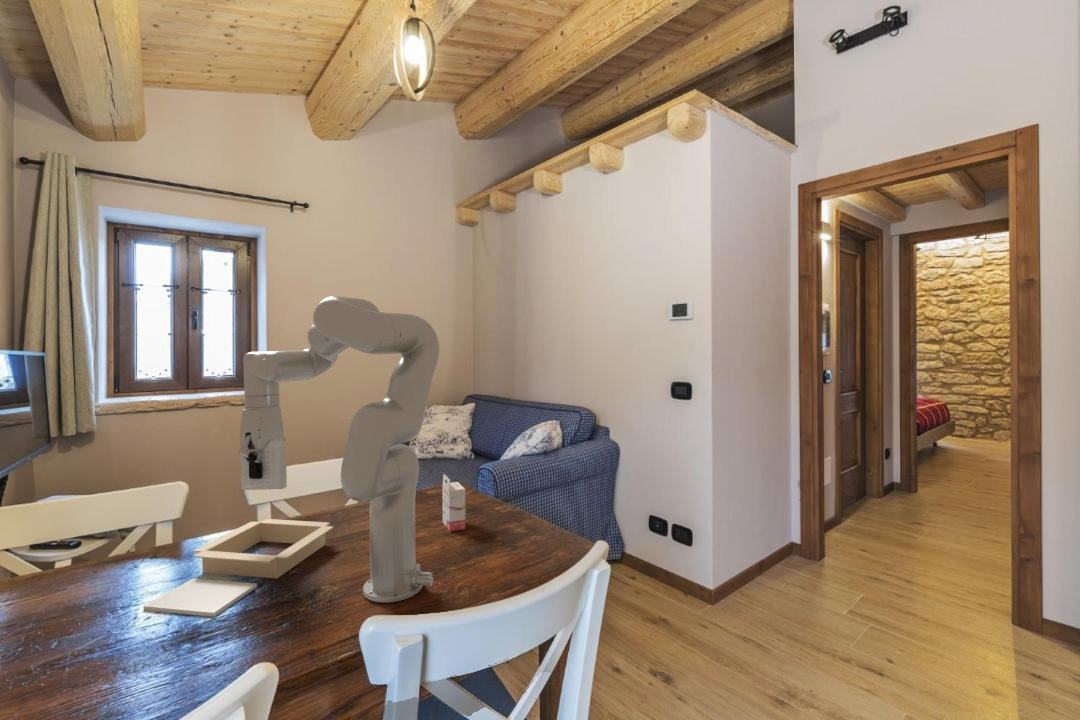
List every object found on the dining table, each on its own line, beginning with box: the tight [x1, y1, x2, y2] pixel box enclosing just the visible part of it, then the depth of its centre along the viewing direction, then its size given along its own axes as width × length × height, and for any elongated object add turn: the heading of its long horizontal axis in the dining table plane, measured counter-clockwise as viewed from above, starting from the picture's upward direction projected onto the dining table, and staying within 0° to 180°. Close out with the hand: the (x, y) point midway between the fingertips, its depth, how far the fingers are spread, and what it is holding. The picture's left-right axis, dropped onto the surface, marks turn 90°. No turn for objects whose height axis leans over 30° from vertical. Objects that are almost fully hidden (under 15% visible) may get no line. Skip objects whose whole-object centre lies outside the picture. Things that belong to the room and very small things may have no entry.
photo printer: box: [240, 439, 288, 491], centre depth 125 cm, size 10×4×12 cm, turn 96°
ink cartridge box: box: [442, 473, 466, 532], centre depth 148 cm, size 9×5×15 cm, turn 25°
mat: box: [143, 578, 258, 618], centre depth 107 cm, size 16×12×1 cm
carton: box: [192, 518, 335, 579], centre depth 127 cm, size 24×24×5 cm
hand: (264, 474), depth 125 cm, fingers closed on photo printer, 5 cm apart
